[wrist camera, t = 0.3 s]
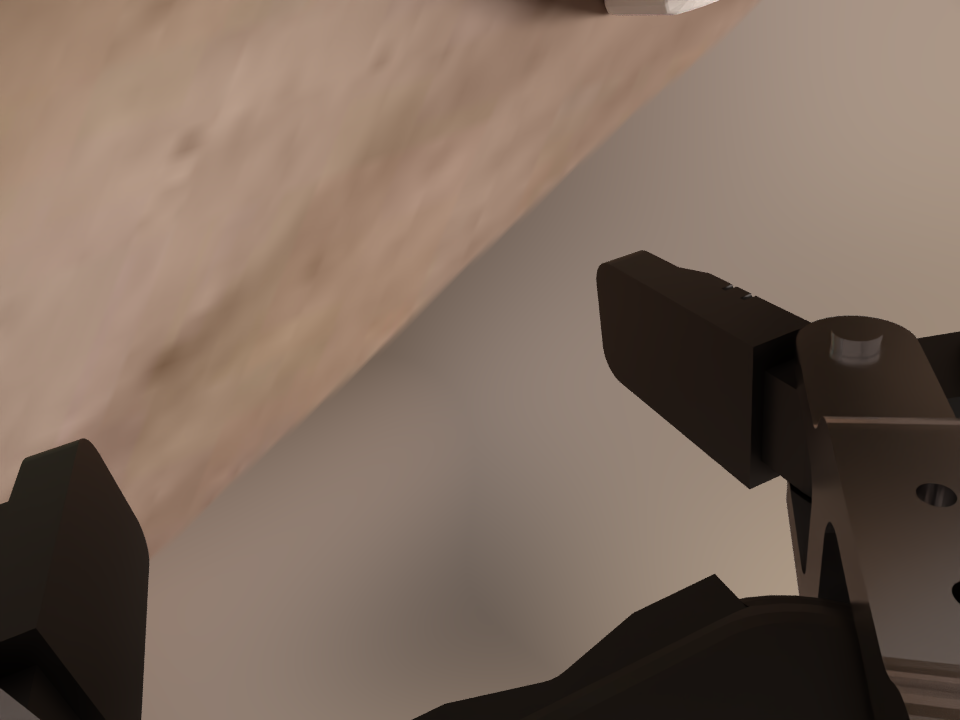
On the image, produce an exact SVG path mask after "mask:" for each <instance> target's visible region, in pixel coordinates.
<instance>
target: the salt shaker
mask: <svg viewBox="0 0 960 720" xmlns="http://www.w3.org/2000/svg"><path fill="white" fill-rule="evenodd" d="M716 1H718V0H604V2H605V7H606V9H607V11H608V13H609V14H612V15H677V14H680V13H684V12H687V11H690V10H693V9H696V8H700V7H703V6H705V5H708V4H711V3H713V2H716Z"/></svg>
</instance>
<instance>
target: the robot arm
mask: <svg viewBox="0 0 960 720" xmlns="http://www.w3.org/2000/svg"><path fill="white" fill-rule="evenodd" d="M596 280H597V291H598V301H599V311H600V321H601V331H602V341H603V349H604V354H605V357H606V360H607V363H608V365H609V367H610V369H611V371H612V373H613V374H614V376H615V377H616V378H617V379H618V380H619V381H620V382H621V383H622V384H623V385H624V386H625V387H627V388H628V389H629V390H630V391H631V392H633V393H634V394H635V395H636V396H638V397H639V398H640V399H641V400H642V401H644V402H645V403H646V404H647V405H648V406H650V407H651V408H652V409H653V410H654V411H656V412H657V413H658V414H659V415H660V416H662V417H663V418H664V419H665V420H667V421H668V422H669V423H670V424H671V425H673V426H674V427H675V428H676V429H677V430H679V431H680V432H681V433H682V434H683V435H685V436H686V437H687V438H688V439H689V440H691V441H692V442H693V443H694V444H696V445H697V446H698V447H699V448H700V449H702V450H703V451H704V452H705V453H706V454H708V455H709V456H710V457H711V458H712V459H714V460H715V461H716V462H717V463H718V464H720V465H721V466H722V467H723V468H724V469H726V470H727V471H728V472H729V473H731V474H732V475H733V476H734V477H736V478H737V479H738V480H739V481H740V482H741V483H743V484H744V485H745V486H746V487H748V488H749V489H751V488H754V487H756V486H758V485H760V484H762V483H765V482H767V481H769V480H771V479H773V478H776V477H778V476H780V475H781V476H782V477H783V478H784V479H786V480H787V495H786V502H787V509H788V517H789V524H790V531H791V539H792V546H793V553H794V561H795V568H796V575H797V583H798V590H799V596H786V595H781V596H780V595H778V596H777V595H776V596H775V595H770V596H758V597H748V598H742V599H738V598H737V596H735V594H734V593H733V592H732V591H731V590H730V589H729V588H728V587H727V586H726V585H725V584H724V583H723V582H722V581H721V580H720V579H719V578H718V577H717V576H716V575H715V574H713V575H711V576H709V577H707V578H705V579H703V580H701V581H699V582H697V583H695V584H693V585H691V586H688V587H686V588H685V589H682V590H680V591H678V592H676V593H674V594H672V595H670V596H668V597H666V598H664V599H661V600H659V601H657V602H655V603H653V604H651V605H649V606H647V607H645V608H643V609H641V610H639V611H637V612H634V613H633V614H631V615H630V616H629V617H628V618H627V619H626V620H624V621H623V622H622V623H621V624H620V625H619V626H617V627H616V628H615V629H614V630H613V631H612V632H610V633H609V634H608V635H607V636H606V637H604V638H603V639H602V640H601V641H600V642H599V643H597V644H596V645H595V646H594V647H593V648H592V649H590V650H589V651H588V652H587V653H586V654H585V655H583V656H582V657H581V658H580V659H579V660H578V661H576V662H575V663H574V664H573V665H572V666H571V667H569V668H568V669H567V670H566V671H565V672H563V673H562V674H561V675H559V676H558V677H556V678H554V679H552V680H549V681H546V682H542V683H537V684H533V685H529V686H524V687H520V688H515V689H510V690H506V691H501V692H497V693H493V694H488V695H483V696H478V697H474V698H469V699H465V700H460V701H456V702H451V703H447V704H444V705H442V706H440V707H438V708H435V709H433V710H431V711H429V712H427V713H425V714H423V715H421V716H419V717H417V718H415V719H413V720H960V332H954V333H948V334H942V335H936V336H930V337H923V338H916V337H915V335H914V334H913V333H911V332H910V331H909V330H907V329H906V328H904V327H902V326H900V325H898V324H895V323H893V322H889V321H886V320H883V319H879V318H872V317H866V316H836V317H829V318H824V319H820V320H817V321H814V322H812V323H811V322H809V321H807V320H804V319H802V318H800V317H798V316H796V315H794V314H792V313H790V312H788V311H786V310H784V309H782V308H780V307H778V306H776V305H773V304H771V303H769V302H767V301H765V300H763V299H761V298H759V297H757V296H755V297H752V295H751V293H749V292H747V291H745V290H743V289H741V288H739V287H735V288H733V286H732V284H730V283H728V282H726V281H724V280H722V279H720V278H718V277H716V276H714V275H712V274H709V273H705V272H700V271H695V270H690V269H685V268H679V267H677V266H675V265H673V264H671V263H669V262H667V261H665V260H663V259H661V258H659V257H657V256H655V255H653V254H651V253H649V252H647V251H643V250H641V251H638V252H635V253H632V254H629V255H626V256H623V257H620V258H617V259H614V260H611V261H608V262H606V263H603V264H601V265H600V266H599V268H598V270H597V277H596ZM148 575H149V554H148V548H147V544H146V540H145V537H144V534H143V531H142V529H141V526H140V524H139V522H138V520H137V518H136V516H135V515H134V513H133V511H132V510H131V508H130V506H129V504H128V503H127V501H126V499H125V497H124V496H123V494H122V492H121V490H120V489H119V487H118V485H117V484H116V482H115V480H114V478H113V477H112V475H111V473H110V471H109V470H108V468H107V466H106V465H105V463H104V461H103V459H102V458H101V456H100V454H99V453H98V451H97V449H96V448H95V447H94V445H93V444H92V443H91V442H90V441H88V440H87V439H80V440H77V441H74V442H71V443H68V444H65V445H62V446H59V447H56V448H53V449H50V450H47V451H44V452H41V453H38V454H35V455H33V456H30V457H27V458H25V459H24V460H23V462H22V464H21V467H20V470H19V473H18V475H17V478H16V481H15V484H14V487H13V490H12V493H11V496H10V498H9V501H8V502H6V503H3V504H0V720H141V713H142V694H143V693H142V692H143V675H144V674H143V673H144V655H145V635H146V615H147V596H148V577H149V576H148Z"/></svg>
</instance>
